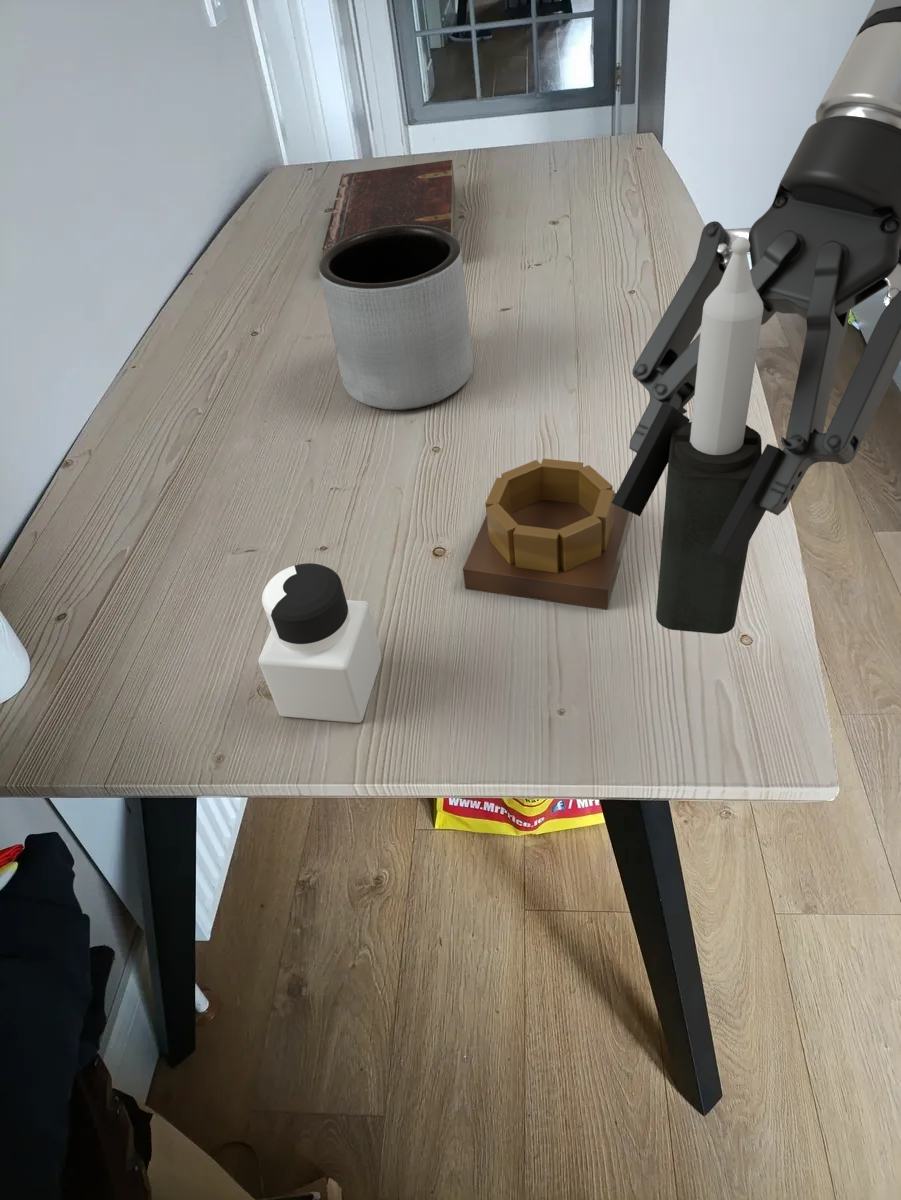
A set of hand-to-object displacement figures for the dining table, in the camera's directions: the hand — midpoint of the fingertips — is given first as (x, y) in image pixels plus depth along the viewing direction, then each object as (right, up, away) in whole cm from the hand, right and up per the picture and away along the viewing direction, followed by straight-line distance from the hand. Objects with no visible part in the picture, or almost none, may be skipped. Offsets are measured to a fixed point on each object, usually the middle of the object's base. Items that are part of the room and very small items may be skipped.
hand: (673, 532), depth 52 cm
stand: (-4, +1, +31) cm, 31 cm away
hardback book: (-22, +54, +87) cm, 104 cm away
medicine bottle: (-23, -11, +22) cm, 34 cm away
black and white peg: (+4, -4, +8) cm, 10 cm away
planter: (-18, +23, +55) cm, 62 cm away
